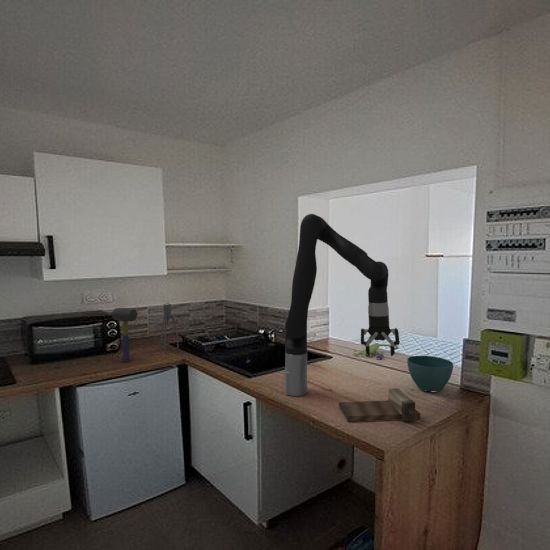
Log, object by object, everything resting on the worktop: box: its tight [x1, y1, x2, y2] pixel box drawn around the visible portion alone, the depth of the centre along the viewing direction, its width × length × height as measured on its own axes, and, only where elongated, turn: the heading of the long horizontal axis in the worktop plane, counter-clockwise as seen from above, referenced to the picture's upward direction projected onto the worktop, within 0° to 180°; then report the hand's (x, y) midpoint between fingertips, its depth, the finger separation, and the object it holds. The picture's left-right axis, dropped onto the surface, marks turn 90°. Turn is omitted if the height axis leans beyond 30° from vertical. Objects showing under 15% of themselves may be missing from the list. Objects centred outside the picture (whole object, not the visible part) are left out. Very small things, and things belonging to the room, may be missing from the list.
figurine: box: [353, 342, 400, 359], centre depth 210 cm, size 18×27×6 cm
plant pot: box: [407, 355, 454, 392], centre depth 154 cm, size 18×18×12 cm
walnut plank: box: [338, 399, 421, 422], centre depth 131 cm, size 26×12×2 cm, turn 95°
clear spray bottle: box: [160, 302, 180, 355], centre depth 217 cm, size 10×11×30 cm
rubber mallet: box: [111, 307, 138, 362], centre depth 198 cm, size 12×8×30 cm, turn 70°
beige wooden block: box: [387, 388, 416, 422], centre depth 130 cm, size 4×14×6 cm, turn 5°
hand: (380, 355), depth 137 cm, fingers open, 8 cm apart
